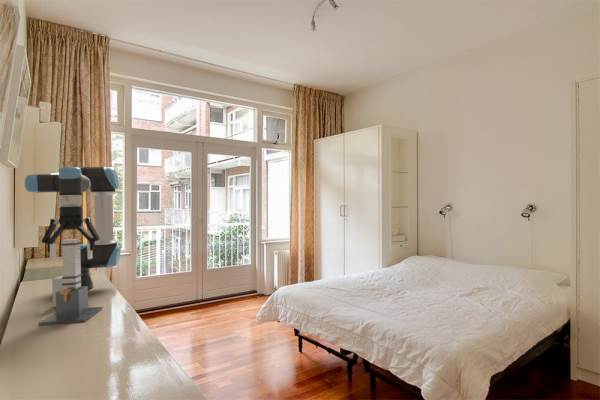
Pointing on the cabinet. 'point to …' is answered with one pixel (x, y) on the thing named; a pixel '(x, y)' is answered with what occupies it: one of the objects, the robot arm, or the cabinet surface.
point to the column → (71, 264)
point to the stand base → (71, 307)
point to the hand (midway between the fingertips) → (71, 259)
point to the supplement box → (56, 287)
